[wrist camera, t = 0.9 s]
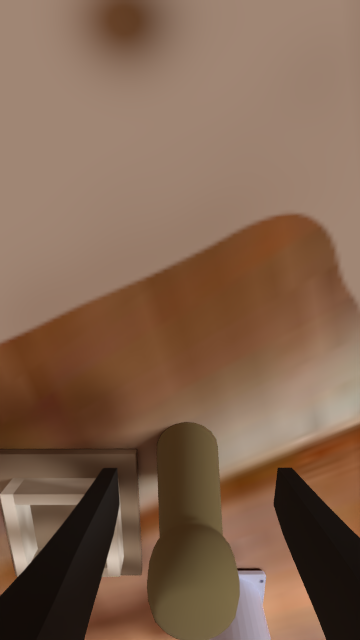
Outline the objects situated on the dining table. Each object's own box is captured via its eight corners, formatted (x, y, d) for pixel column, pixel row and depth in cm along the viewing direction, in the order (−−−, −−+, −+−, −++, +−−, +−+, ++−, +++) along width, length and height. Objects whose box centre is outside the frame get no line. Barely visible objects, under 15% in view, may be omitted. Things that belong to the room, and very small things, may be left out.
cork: (159, 476, 22) (141, 667, 11) (153, 424, 21) (126, 585, 10) (218, 472, 22) (256, 661, 11) (216, 420, 21) (256, 577, 10)
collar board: (142, 568, 25) (138, 596, 23) (19, 568, 25) (4, 596, 23) (136, 449, 21) (131, 468, 19) (-6, 449, 21) (-27, 469, 19)
